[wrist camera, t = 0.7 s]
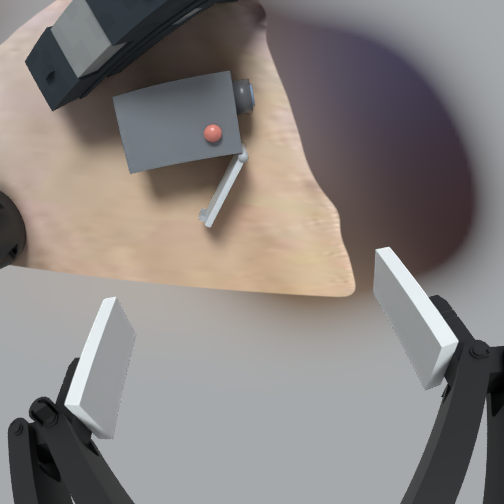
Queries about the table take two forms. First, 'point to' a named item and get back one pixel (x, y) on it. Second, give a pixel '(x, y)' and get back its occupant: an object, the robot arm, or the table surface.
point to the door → (223, 187)
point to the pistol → (102, 42)
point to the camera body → (182, 120)
